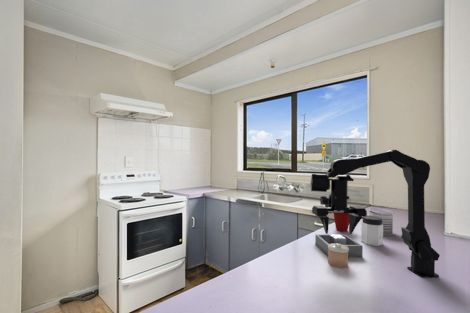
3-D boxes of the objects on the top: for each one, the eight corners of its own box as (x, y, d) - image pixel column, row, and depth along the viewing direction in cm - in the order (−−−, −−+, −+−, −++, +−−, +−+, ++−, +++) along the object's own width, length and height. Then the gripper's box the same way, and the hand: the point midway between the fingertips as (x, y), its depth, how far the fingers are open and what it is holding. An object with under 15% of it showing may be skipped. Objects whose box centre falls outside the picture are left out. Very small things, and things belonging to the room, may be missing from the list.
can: (384, 229, 135) (384, 208, 135) (398, 235, 124) (398, 212, 124) (364, 229, 134) (364, 207, 135) (377, 235, 123) (377, 212, 123)
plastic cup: (340, 234, 125) (340, 211, 125) (327, 228, 135) (327, 207, 135) (357, 232, 127) (357, 210, 127) (343, 226, 138) (343, 206, 138)
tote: (362, 256, 96) (362, 245, 96) (328, 256, 95) (328, 245, 95) (345, 244, 110) (345, 234, 110) (315, 244, 109) (315, 234, 109)
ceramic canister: (352, 268, 86) (352, 248, 86) (332, 268, 86) (333, 247, 86) (342, 259, 93) (342, 240, 93) (324, 259, 93) (324, 240, 93)
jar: (376, 247, 107) (376, 220, 107) (358, 241, 113) (358, 216, 113) (385, 243, 111) (386, 218, 112) (368, 238, 118) (368, 214, 118)
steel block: (345, 250, 100) (346, 238, 100) (334, 250, 100) (334, 238, 100) (340, 245, 105) (340, 234, 105) (329, 245, 105) (329, 234, 105)
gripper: (352, 189, 98) (351, 227, 98) (307, 189, 97) (306, 227, 97) (368, 194, 87) (367, 236, 87) (317, 193, 86) (317, 236, 86)
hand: (338, 233), depth 90 cm, fingers open, 9 cm apart
